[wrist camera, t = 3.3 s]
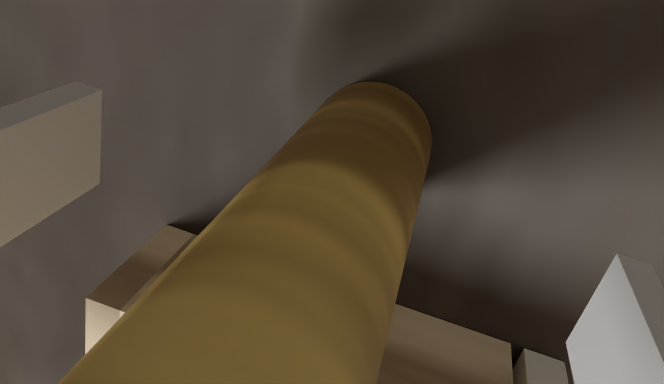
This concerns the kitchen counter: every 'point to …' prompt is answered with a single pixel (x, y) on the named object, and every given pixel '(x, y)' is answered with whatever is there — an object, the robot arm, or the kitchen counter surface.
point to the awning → (538, 369)
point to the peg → (288, 262)
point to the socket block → (401, 345)
